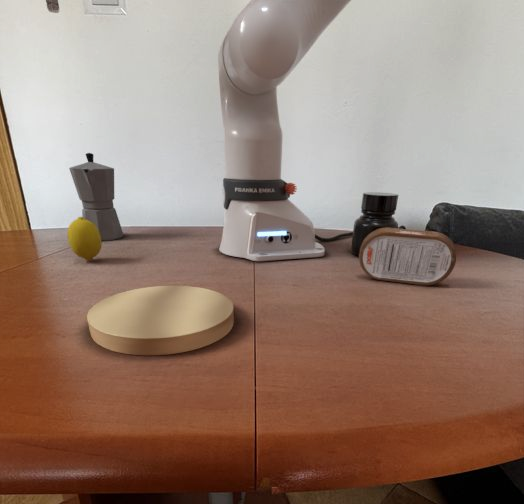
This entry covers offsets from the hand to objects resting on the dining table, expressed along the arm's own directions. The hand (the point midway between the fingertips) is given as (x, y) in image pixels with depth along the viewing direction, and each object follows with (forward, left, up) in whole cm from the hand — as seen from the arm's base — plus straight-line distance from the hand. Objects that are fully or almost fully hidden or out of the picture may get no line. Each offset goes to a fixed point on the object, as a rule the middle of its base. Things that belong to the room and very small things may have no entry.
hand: (52, 2), depth 57 cm
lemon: (+1, +4, -39) cm, 39 cm away
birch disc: (-15, +35, -38) cm, 54 cm away
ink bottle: (-56, +3, -39) cm, 68 cm away
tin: (-53, +22, -39) cm, 69 cm away
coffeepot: (+3, -20, -39) cm, 43 cm away
